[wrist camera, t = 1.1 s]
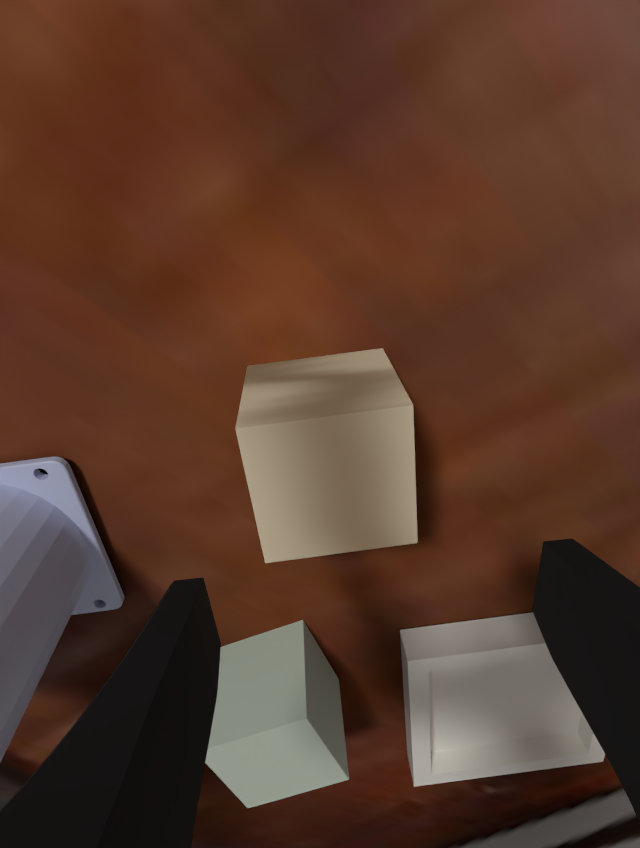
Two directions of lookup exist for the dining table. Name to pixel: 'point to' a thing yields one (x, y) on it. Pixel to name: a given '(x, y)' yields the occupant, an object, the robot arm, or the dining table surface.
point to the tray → (488, 702)
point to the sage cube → (277, 717)
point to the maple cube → (328, 455)
